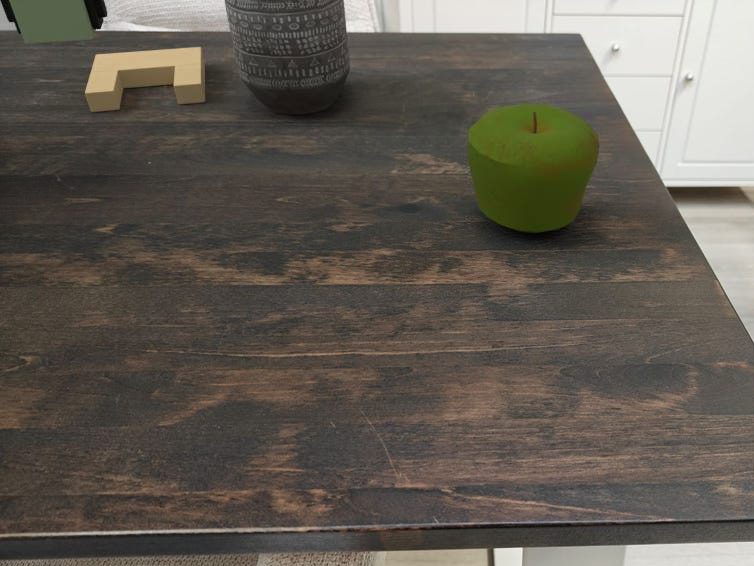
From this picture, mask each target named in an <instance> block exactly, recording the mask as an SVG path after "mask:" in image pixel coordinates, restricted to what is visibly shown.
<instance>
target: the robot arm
mask: <svg viewBox="0 0 754 566" xmlns="http://www.w3.org/2000/svg"><path fill="white" fill-rule="evenodd" d="M84 2H85V6H86V9H87V12H88V15H89V18H90V22H91V25H92V28H94V29H95V30H96V31H97V30H101V29H102V27H103V24H104V18H107V17H108V10H107V9H108V8H107V5H106V2H105V0H84ZM0 3H1V6H2V9H3V12H4V14H5V16H6V19H7V22H9V23H14V26H15V29H16V31H17V33H18V34H19V35H22V33H21V31H20V28H19V25H18V23H17V20H16V17H15V15H14V12H13V9H12V7H11V4H10V1H9V0H0Z"/></svg>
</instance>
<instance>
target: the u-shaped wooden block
mask: <svg viewBox="0 0 754 566" xmlns="http://www.w3.org/2000/svg"><path fill="white" fill-rule="evenodd" d="M205 63H206V62H205V58H204V54H203V50H202V47H201V46H193V47H180V48H168V49H167V48H166V49H154V50H139V51H126V52H125V51H124V52H111V53H97V54H95V57H94V60H93V64H92V66H91V67H92V68H91V71H90V74H89V76H88V81H87V84H86V87H85V91H84V96H85V98H86V102H87V104H88V107H89V110H90V113H97V112H109V111H120V108H121V102H122V98H123V92H124V89H132V88H133V89H134V88H145V87H156V86H168V85H169V86H171V85H173V89H174V93H175V97H176V102H177V104H178V105H189V104H200V103H206V64H205Z"/></svg>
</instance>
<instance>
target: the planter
mask: <svg viewBox="0 0 754 566" xmlns="http://www.w3.org/2000/svg"><path fill="white" fill-rule="evenodd" d="M224 6H225V12H226V18H227V23H228V28H229V32H230V37H231V42H232V47H233V53H234V60H235V64H236V69H237V73H238V76H239V78H240V80H241V81H242V82H243V84H244V85H245V86H246V87H247V89H248V90H249V92H251V94H252V95H253V96H254V97H255V98H256V99H257V101H258V102H259V103H261V105H262V106H263V107H264V108H265V109H267V110H268V111H270V112H273V113H276V114H280V115H291V116H293V115H294V116H298V115H299V116H300V115H307V114H314V113H318V112H320V111H321V112H322V111H324V110H326V109H328V108H330V107H331V106H333V105H335V103H336V101H337V99H338V97H339V95H340V93H341V91H342V90H343V88H344V85H345V83H346V81H347V78H348V76H349V74H350V70H351V58H350V48H349V47H350V46H349V40H348V33H347V32H348V31H347V20H346V10H345V0H224Z"/></svg>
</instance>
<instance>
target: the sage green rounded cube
mask: <svg viewBox="0 0 754 566" xmlns="http://www.w3.org/2000/svg"><path fill="white" fill-rule="evenodd" d="M9 1H10V4H11V7H12V9H13V12H14V15H15V17H16V20H17V23H18V25H19V28H20V31H21V33H22V34H21V36H22V38H23V41H24V44H26V45H30V44H45V43H46V44H47V43H64V42H79V41H81V42H82V41H92V40H93V39H94V37H95V34H96V31H97V29H96V30H95V29H94V28H92V25H91V22H90V18H89V15H88V12H87V9H86V6H85V2H84V0H9Z"/></svg>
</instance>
